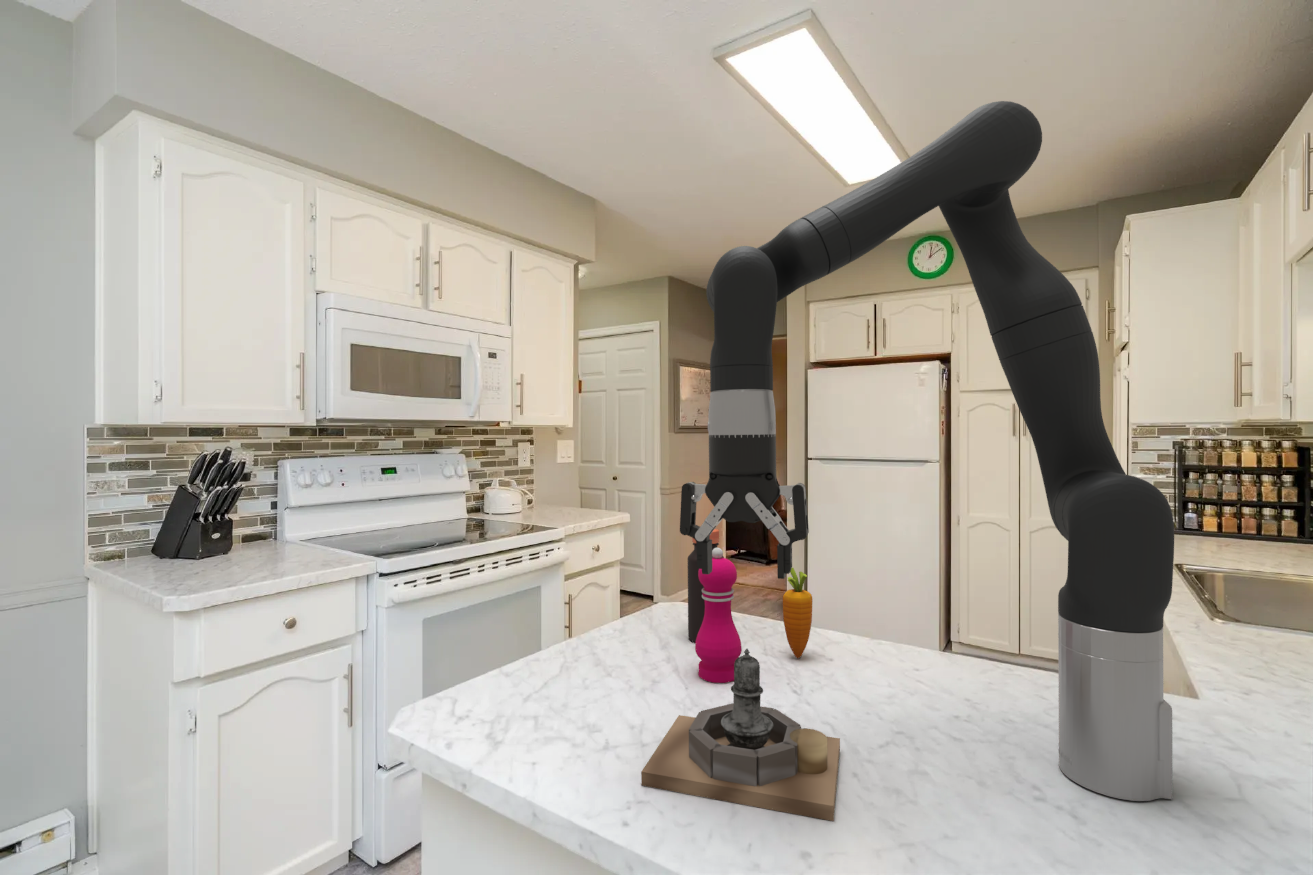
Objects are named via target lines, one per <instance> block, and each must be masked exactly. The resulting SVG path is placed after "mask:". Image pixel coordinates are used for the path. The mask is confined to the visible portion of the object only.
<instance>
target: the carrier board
mask: <svg viewBox="0 0 1313 875" xmlns="http://www.w3.org/2000/svg"><path fill="white" fill-rule="evenodd" d="M733 705H734V702H733V703H729V704H725V705H720V706H716V707H713V708H712V707H711V708H708V709H702V710H701V711H699V712H698V714H697V715H696V717H693V716H688V715H681V714H678V716H677V717H676V719H675V720H674V721H673V723H672V725H671V726H670V728H669V729H668V731H667V733H665V736H664V737H663V738H662V740H661V741H660V743H659V745H657V747H656V749H655V751H654V752H653V753H652V754H651V756H650V758H649V759H648V761H647V762H646V764H645V765H644V766H643V768H642V770H641V773H640V774H641V775H640V776H641V779H640V780H641V783H640V784H641V786H643V787H648V788H654V789H659V790H664V791H671V792H674V793H675V792H676V793H679V794H685V795H691V796H696V797H702V798H707V799H712V800H716V801H722V802H723V801H724V802H728V803H734V804H739V805H745V806H749V807H755V808H759V809H760V808H761V809H766V810H771V811H776V812H781V813H786V814H792V815H798V816H804V817H808V818H814V819H820V820H826V821H830V822H834V821H835V810H836V809H835V808H836V800H837V789H838V788H837V787H838V777H839V766H840V757H841V738H840V737H833V736H827V735H826V734H824V733H823V732H821V731H819V730H817V729H815V728H814V729H813V728H805V727H804V728H803V727H802V725H801V724H800V723H799V722H797V721H795V720H793V719H792V718H790V717H789V716H787V715H786V714H784V713H783V712H781V711H780V710H778V709H777V708H775V709H774V708H773V707H767V706H762V705H760V708H761V713H762V714H763V715H765V716H767V717H768V718H770V720H771V721H772V722H773V729H772V730H771V731H770V736H769V738H768V741H767V743H766V744H765V745H763V746H765V747H763V748H759V749H756V750H752V749H746V748H739V747H733V746H727V745H729V744H731V743H730V742H729V741H728V740H727V738H726V736H725V733H724V728H723V727H722V725H721V720H722V718H723V717H724V716H725V715H726V714H729V713H731V712H732V711H733Z"/></svg>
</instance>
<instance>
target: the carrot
mask: <svg viewBox="0 0 1313 875" xmlns="http://www.w3.org/2000/svg"><path fill="white" fill-rule="evenodd" d="M789 574H790V575H791V576H788V577H787V581H788V583H789V584H790V586H791V587H792V588H793V589H787V590H786V591H785V593H784V594H783V596H782V615H783V616H782V618H783V625H784V631H785V632H784V633H785V635H786V639H787V643H788V645H789V648H790V650H791V652H792V654H793V656H794V657H795V658H796V659H798V660H799V659H800V658H801V657H802V655H803V654H804V651H805V649H806V648H807V645H808V642H809V639H810V635H811V630H812V621H813V596H812V595H813V594H811V592H809V591H807V590H805V589H803V587H804V585H805V581H806V579H807V577H808V575H807V574H806V573H804V572H803V571H799V572H798V574H797V572H796V570H795V568H794V567H792V569H791V571H790V573H789ZM798 575H799V577H798Z"/></svg>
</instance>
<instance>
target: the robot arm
mask: <svg viewBox="0 0 1313 875" xmlns="http://www.w3.org/2000/svg"><path fill="white" fill-rule="evenodd" d="M1042 131H1043V130H1042V127H1041V124H1040V122H1039V120H1038V118H1037V117H1036V115H1035V114H1034V113H1033V111H1031V110H1030V109H1029V108H1027V107H1026V106H1024V105H1022V104H1020V103H1017V102H1015V101H1014V102H1013V101H1010V100H1009V101H1007V100H999V101H992V102H989V103H985V104H983V105H981V106H979V107H977V108H975V109H974V110H972V111H971V112H970V113H968V114H967V115H966V116H964V118H962V119H961V120H960V121H958V122H957V123H956V124H954V125H953V126H952V127H950V128H949V129H948V130H947V131H945V132H944V133H943V134H941V135H940V136H939V137H937V138H936V139H935V140H933V141H932V142H931V143H929V144H927V145H926V146H925V147H923V148H922V149H920V150H919V151H917V152H916V153H914V154H912V155H911V156H910V157H908V158H906V159H905V160H903V161H902V162H900V163H898V164H897V165H895V166H894V167H891V168H890V169H888V170H887V171H886V172H884V173H882V174H880V175H878V176H877V177H875V178H872V179H871V180H869V181H867V182H866V183H865V184H862V185H860V186H859V187H857V188H855V189H853V190H851V191H849V192H848V193H846V194H844V195H843V196H840V197H838V198H836V199H834V200H833V201H830V202H829V203H827V204H825V205H822V206H821V207H819V208H817V209H815V210H813V211H812V212H810V213H807V214H805V215H804V216H802V217H800V218H798V219H796V220H794V221H792V222H791V223H790V224H788V225H787V226H786V227H784V228H782V230H781V231H779V232H778V233H777V234H776V236H774V237H773V238H772V239H771V240H769V241H768V242H766V243H764V244H762V245H760V246H758V247H754V246H748V245H741V246H737V247H733V248H731V249H730V250H728V251H726V252H725V253H724V254H723V255H722V256H720V258H719V259H718V261H717V262H716V264H715V266H713V267H714V268H713V270H712V272H711V274H710V276H709V279H708V281H707V284H706V291H705V292H706V299H707V303H708V306H709V307H710V309H711V310H712V312H713V322H714V323H713V324H714V326H713V327H714V329H713V331H714V332H713V333H714V334H713V336H714V340H713V344H712V346H711V351H710V359H709V360H710V361H709V369H710V370H709V371H710V373H709V374H710V376H709V378H710V380H709V381H710V382H709V383H710V393H709V394H710V396H709V403H708V404H709V405H708V415H707V416H708V421H707V432H708V481H707V483H706V484H705V483H704V484H703V483H696V482H694V481H688V482H686V483H684V484H682V486H681V492H680V493H681V494H680V495H681V496H680V497H681V498H680V516H679V517H680V518H679V533H680V534H681V535H682V536H688V537H690V538H694V539H695V540H696V544H697V566H698V569H702V574H710V573H711V572H712V539H710V534H711V533H712V532H713V530H714V529H717V527H718V525H719V524H720V523H721V522H722V520H725V521H726V522H728V523H736V522H745V523H748V524H755V523H757V522H760V521H761V522H762V523H763V524H764V526H765V527H766V529H768V530H769V531H771V532H770V533H772V534H773V536H774V537H775V538H776V541H778V543H777V546H776V552H777V554H776V555H777V556H776V557H777V558H776V560H777V562H776V564H777V565H776V566H777V579H778V580H779V579H780V580H785V579H786V578H787V575H789V574H791V573H790V571H791V569H792V568H793V543H795V542H799V541H803V540H805V539H806V538H807V536H808V534H809V532H810V529H809V519H808V503H807V490H806V488H807V487H806V485H805V484H804V483H801V482H798V483H796V484H791V485H780V483H779V481H778V477H777V436H776V435H777V430H776V429H777V424H776V420H777V419H776V405H775V398H774V391H773V390H774V368H773V366H774V365H773V350H772V349H773V348H772V346H773V338H774V331H775V323H776V315H777V314H776V313H777V306H778V304H777V303H778V302H780V301H782V300H784V298H786V297H788V296H789V295H791V294H792V293H794V292H796V291H797V290H799V289H800V288H802V287H804V286H807V285H808V284H810V283H813V282H816V281H817V280H821V279H822V278H824V277H826V276H828V275H830V274H832V273H834V272H835V271H837V270H839V269H841V268H843V267H845V266H847V265H848V264H851V263H852V262H854V261H856V260H857V259H859V258H861V257H863V256H865V255H866V254H867V253H869V252H870V251H872V250H874V249H875V248H876V247H878V246H880V245H881V244H883V243H884V242H885V241H887V240H889V239H890V238H891V237H893V236H894V235H896V234H897V233H899V232H900V231H901V230H903V229H904V228H906V227H907V226H908V225H910V224H912V223H913V222H914V221H916V220H917V219H919V218H921V217H922V216H924V215H925V214H927V213H929V212H930V211H932V210H934V209H936V208H938V207H939V209H940V212H941V213H942V215H943V217H944V220H945V222H946V223H947V225H948V228H949V230H950V231H951V234H952V236H953V238H954V240H955V242H956V244H957V246H958V248H959V250H960V253H961V254H962V257H963V259H964V262H965V266H966V269H967V270H968V273H969V276H970V279H971V282H972V285H973V288H974V291H975V293H976V296H977V298H978V301H979V304H980V307H981V309H982V311H983V314H984V318H985V320H986V323H987V327H988V328H987V329H988V331H989V335H990V336H991V340H992V343H993V346H994V349H995V351H996V355H997V357H998V360H999V363H1000V365H1001V368H1002V371H1003V373H1004V375H1005V378H1006V380H1007V383H1008V385H1009V388H1010V391H1011V392H1012V395H1013V397H1014V400H1015V402H1016V405H1017V407H1018V410H1019V412H1020V413H1021V416H1022V418H1023V420H1024V423H1025V425H1026V427H1027V429H1028V432H1029V434H1030V437H1031V440H1032V442H1033V443H1032V444H1033V445H1034V448H1035V453H1036V456H1037V460H1038V465H1039V469H1040V472H1041V478H1042V482H1043V486H1044V491H1045V495H1046V500H1047V505H1048V509H1049V514H1050V517H1051V521H1052V522H1053V525H1054V526H1055V528H1056V530H1057V531H1058V532H1059V534H1060V535H1061V536H1062V537H1063V538H1064V539H1065V540H1066V541H1067V542H1068V543H1067V546H1068V547H1067V551H1068V552H1067V575H1066V576H1067V577H1066V581H1065V584H1064V585H1063V586H1062V587H1060V589H1059V591H1058V595H1057V605H1058V606H1057V608H1058V609H1057V611H1058V613H1057V614H1058V616H1057V618H1058V619H1057V621H1058V622H1057V624H1058V625H1057V626H1058V628H1057V629H1058V631H1057V632H1058V633H1057V635H1058V636H1057V637H1058V639H1057V640H1058V644H1057V645H1058V652H1057V653H1058V656H1057V657H1058V743H1057V744H1058V745H1057V750H1058V766H1059V768H1060V771H1062V773H1063V774H1064V776H1066V777H1067V778H1068V779H1070V780H1071V781H1073V782H1075V783H1076V784H1078V785H1080V786H1081V787H1083V788H1086V789H1087V790H1090V791H1093V792H1095V793H1098V794H1100V795H1104V796H1107V797H1111V798H1115V799H1119V800H1125V801H1132V802H1133V801H1136V802H1147V801H1148V802H1150V801H1153V800H1157V799H1166V800H1173V794H1174V793H1173V788H1174V787H1173V782H1174V781H1173V776H1174V775H1173V708H1172V706H1171V704H1170V703H1168V702H1167V700H1165V699H1164V616H1165V612H1166V610H1167V608H1168V606H1169V603H1170V602H1171V598H1172V593H1173V583H1174V582H1173V581H1174V580H1173V579H1174V577H1173V576H1174V559H1175V558H1174V557H1175V522H1174V517H1173V511H1172V508H1171V505H1170V503H1169V501H1168V499H1167V497H1166V496H1165V495H1164V494H1163V492H1162V491H1161V490H1160V489H1158V487H1156V486H1155V485H1153V484H1152V483H1150V482H1148V481H1147V480H1145V479H1143V478H1140V477H1136V476H1134V475H1128V474H1126V472H1125V470H1124V468H1123V467H1122V465H1121V462H1120V461H1119V458H1118V457H1117V454H1116V452H1115V450H1114V447H1113V444H1112V442H1111V440H1110V438H1109V436H1108V433H1107V430H1106V426H1105V424H1104V423H1105V422H1104V419H1103V414H1102V412H1103V411H1102V403H1101V372H1100V371H1101V370H1100V360H1099V353H1098V347H1097V344H1096V343H1097V342H1096V340H1095V335H1094V332H1093V330H1092V327H1091V325H1090V322H1089V319H1088V316H1087V313H1086V311H1085V309H1084V305H1082V304H1083V302H1082V299H1081V298H1080V295H1079V294H1078V292H1077V290H1076V288H1075V287H1074V286H1073V284H1072V283H1071V282H1070V281H1069V279H1068V278H1067V277H1066V276H1065V275H1064V274H1063V273H1062V271H1060V270H1059V269H1058V267H1055V266H1054V264H1052V263H1051V262H1050V261H1049V260H1047V259H1046V258H1045V257H1044V255H1042V254H1040V252H1039V251H1038V250H1036V248H1034V247H1033V246H1032V245H1031V243H1030V242H1029V241H1028V239H1027V238H1026V236H1025V234H1024V232H1023V231H1022V229H1021V227H1020V225H1019V222H1018V218H1017V216H1016V213H1015V209H1014V207H1013V204H1012V201H1011V197H1010V191H1009V189H1010V188H1011V187H1012V186H1014V185H1015V184H1016V183H1017V182H1018V181H1019V180H1020V179H1021V178H1023V177H1024V176H1025V174H1026V173H1027V172H1029V169H1030V168H1031V167H1032V166H1033V164H1034V163H1035V161H1036V160H1037V158H1038V155H1039V153H1040V151H1041V148H1042V145H1043V144H1042V143H1043V132H1042ZM704 494H705V495H706V497H707V499H708V500H709V501H710V503H711V505H713V508H712V509H711V511H710V512H709V514H708V515H707V516H706V518H705V519H704V521H703V523H702V524H701V525H698V524H696V521H697V520H696V518H697V503H698V502H699V501H701V500H702V498H703V495H704ZM781 496H783V497H784V498H785V500H786V502H787V504H788V505H792V508H793V519H794V520H793V521H794V522H793V523H794V528H792V529H789V528H788V526H786V524H785V523H784V521H783V520H782V518H781V516H780V515H779V514H778V512H777V511H776V509H774V507H773V506H774V505H775V503H776V502H777V500H778V499H779V498H780V497H781Z"/></svg>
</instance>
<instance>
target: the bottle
mask: <svg viewBox="0 0 1313 875" xmlns="http://www.w3.org/2000/svg"><path fill="white" fill-rule="evenodd" d="M691 538H692V537H691ZM710 539H712V550H713V549H714V548H718V546H719V545H720V544H719V542H720V530H719V529H718V528H715V529H714V530H713V532H712V533H711V534H710ZM691 540H692V545H693V548H694V549H693V550H692V551H691V552H690V554H689V555H688V556H687V627H688V628H687V630H688V631H687V633H688V634H687V637H688V639H689V641H691V642H693V643H696V638H697V634H698V632H699V630H700V627H701V625H702V622H703V619H704V614H705V600H704V599H703V598H702V593H703V592H702V589H703V588H704V586H703V585H702V584H701V582H700V581H699V577H698V572H699V569H698V566H697V544H696V540H695V539H694V538H692V539H691ZM712 557H713V556H712ZM722 558H725V557H724V555H723V556H722Z"/></svg>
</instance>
